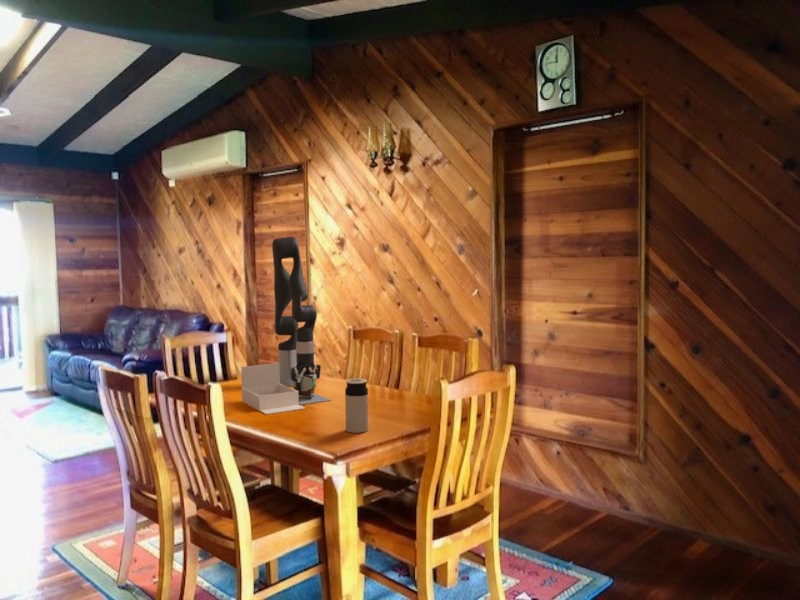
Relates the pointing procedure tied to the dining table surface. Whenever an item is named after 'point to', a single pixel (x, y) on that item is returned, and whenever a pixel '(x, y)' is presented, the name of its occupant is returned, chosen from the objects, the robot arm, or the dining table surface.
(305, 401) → the slate mat
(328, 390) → the dining table surface
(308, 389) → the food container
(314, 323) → the robot arm
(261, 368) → the carton
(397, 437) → the dining table surface
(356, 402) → the travel mug
